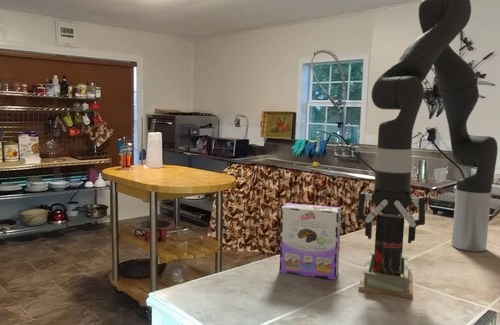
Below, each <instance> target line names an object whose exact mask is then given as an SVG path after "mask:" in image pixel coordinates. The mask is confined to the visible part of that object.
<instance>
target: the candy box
mask: <svg viewBox="0 0 500 325" xmlns="http://www.w3.org/2000/svg"><path fill="white" fill-rule="evenodd" d="M341 209H342V208H341V207H339V206H337V207H336V206H327V205H326V206H325V205H314V204H304V203H291V202H287V203H284V205H282V206H281V208H280V239H279V240H280V242H279V244H280V245H279V270H278V271H279V273H283V274H289V275H297V276H298V275H299V276H304V277H305V276H306V277H311V278H312V277H313V278H320V279H327V280H336V279H337V277H338V274H339V268H340V267H339V265H340V264H339V262H340V245H341V242H340V240H341V218H342V217H341V216H342V214H341V213H342V212H341V211H342V210H341Z"/></svg>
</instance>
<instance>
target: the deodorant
mask: <svg viewBox="0 0 500 325" xmlns="http://www.w3.org/2000/svg"><path fill="white" fill-rule="evenodd" d="M375 222H376V224H375V238H374V239H375V240H374V270H373V273H378V274H385V275H392V276H400V277H401V264H402V257H403V248H404V247H403V246H404V230H405V229H404V228H405V218H404V217H403V215H400V214H399V215H393V214H383V213H378V214H377V216H376V221H375Z"/></svg>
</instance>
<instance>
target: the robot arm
mask: <svg viewBox="0 0 500 325" xmlns="http://www.w3.org/2000/svg"><path fill="white" fill-rule="evenodd" d="M471 4H472V3H471V0H421V2H420V4H419V7H418V20H419V24H420V25H419V26H420V28H421V31H422V35H420V36H418V37H417V38H416V39H414V40H413V41H412V42H411V43H410V44H409V45H408V46H407V47H406V49H405V50H404V52H403V53H402V55H401V57H399V59H398V60H397V62H396V63H395V64H393V65H391V67H390V68H388V69H387V70H386V71H384V72H383V73H382V74H381V75H380V76H379V77H378V78H377V79H376V80H375V82H374V84H373V86H372V91H371V102H372V103H373V104H374V106H375V107H376V108H378V109H381V110H390V111H391V110H392V111H393V110H398V111H399V110H400V111H399V112H398V115H397V116H396V118H394V119H390V120H389V119H388V120H385V121H382V122H380V124H379V126H378V130H377V131H378V134H377V135H378V136H377V150H376V156H375V163H374V168H375V172H374V187H373V188H374V189H373V192H372V193H366V192H365V191H361V192H360V194H359V198H358V206H357V207H358V208H357V213H356V214H357V215H356V217H357V219H358V220H362V221H364V222H365V227H364V235H365V237H367V239H368V240H372V235H373V219H375V218H376V217H377V215H379V214H393V215H399V216H400V215H401V216H402V217H404V220H405V221H406V222H407V224H408V233H407V234H408V235H407V243H408V244H412V242H414V241H415V240H416V228H417V227H419V226H424V225H425V224H426V200H425V197H424V196H423V195H419V196H412V195H411V184H412V182H411V181H412V169H413V166H412V164H413V161H412V160H413V157H412V156H413V155H412V146H413V145H412V143H413V130H414V127H415V124H416V121H417V120H416V119H417V117H418V113H419V111H420V108H421V105H422V103H423V100H424V94H425V87H424V84H423V81H424V80H425V79H426V78H427V76H428V74H429V73H430V71H431V70H432V67H434V72H435V75H436V80H437V85H438V89H439V90H438V91H439V95H440V98H441V101H442V105H443V108H444V111H445V116H446V121H447V125H448V133H449V138H450V139H449V140H450V145H451V146H450V147H451V152H452V157H453V160H454V162H455V163H456V164H457V165H458V166H462V167H468V168H476V172H475V173H474V174H472V175H470V176H467V177H462V178H458V179H457V181H456V184H455V197H454V198H455V201H454V209H453V210H454V212H453V224H452V232H451V233H452V235H451V246H452V247H454V248H455V249H459V250H463V251H467V252H473V253H474V252H479V253H480V252H485V251H486V250H487V243H488V234H489V223H490V210H491V199H492V189H493V188H492V187H493V183H494V180H495V171H496V165H497V158H498V150H499V149H498V147H499V146H498V143H497V140H496V139H495V137H493V136H489V135H488V136H487V135H472V134H471V135H470V133H469V132H468V127H467V122H468V119H469V117H470V115H471V114H472V112H473V111H474V109H475V107H476V105H477V104H478V100H479V96H480V92H479V87H478V83H477V77H476V74H475V71H474V70H473V68H472V67H471V65H469V63H468V62H466V61H465V60H464V59H463V57H461V56H460V55H459V54H457V53H456V52H455V50H454V49H453V48H452V47H451V46H450V44H451V43H452V42H453V41H454V40H455V39H456V37H457V36H458V35H459V34H460V33H461V32H462V31H463V30H464V28H465V27H466V26H467V25H468V24H469V21H470V18H471V15H472V14H471V13H472V5H471ZM370 199H371V201H373V203H374V205H375V206H374V207H373V208H372V209H371V211H370V212H369V213H368V214H366V213H365V207H366V206H365V204H368V202H369V200H370ZM412 203H413V204H414V206H415V207H416V208H418V218H415V217H413V215H412V213H411V212H410V211H409V209H408V207H409V206H410V205H411V204H412Z"/></svg>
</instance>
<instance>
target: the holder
mask: <svg viewBox="0 0 500 325" xmlns="http://www.w3.org/2000/svg"><path fill="white" fill-rule="evenodd" d="M374 253H375V252H374ZM374 253H373V252H369V254H368V258H367V262H365V263H364V266H363V269H362V272H361V273H362V274H361V277H360V281H359V285H358V291H359V292H364V293H371V294H379V295H384V296H389V297H397V298H403V299H408V300H412V299H413V291H412V290H413V284H412V283H413V282H412V280H413V279H412V269H411V268H409V264H408V263H409V261H408V259H409V258H408V257H406V256H405V257H404V256H402V264H401V277H400V276H392V275H385V274H378V273H373V270H374Z"/></svg>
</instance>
